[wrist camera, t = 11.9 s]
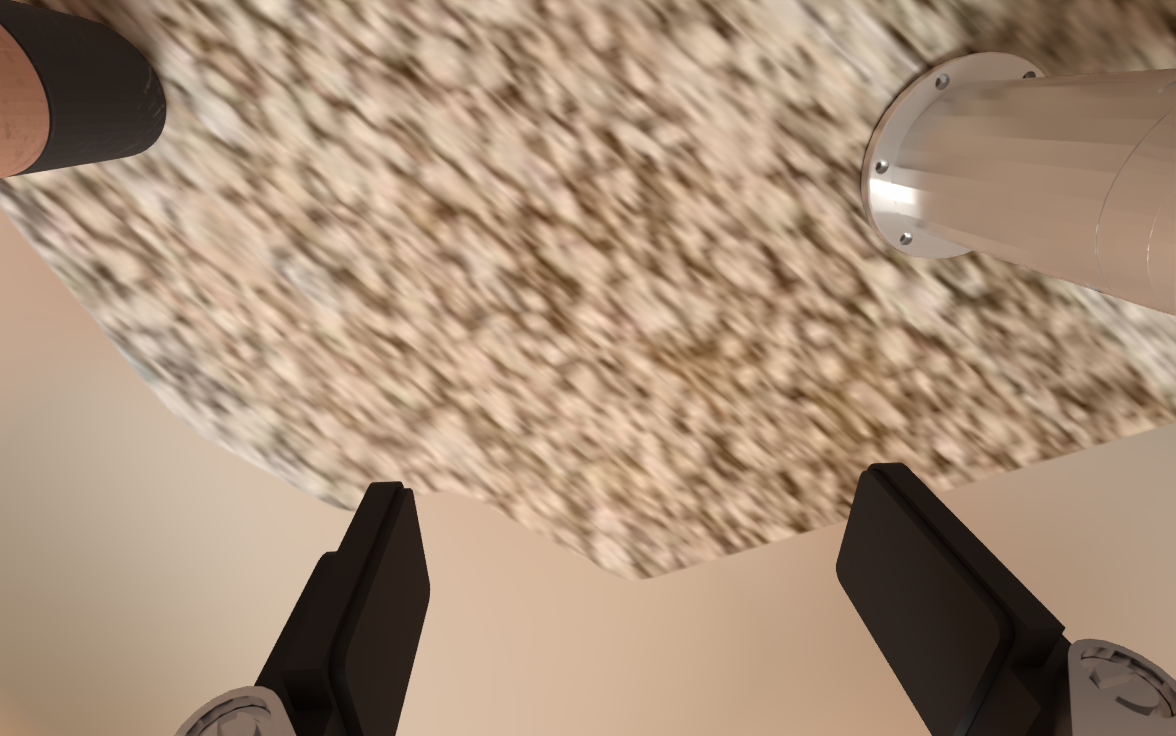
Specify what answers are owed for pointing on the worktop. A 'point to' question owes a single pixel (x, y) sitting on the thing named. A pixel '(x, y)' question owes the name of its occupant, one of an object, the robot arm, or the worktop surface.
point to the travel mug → (71, 92)
